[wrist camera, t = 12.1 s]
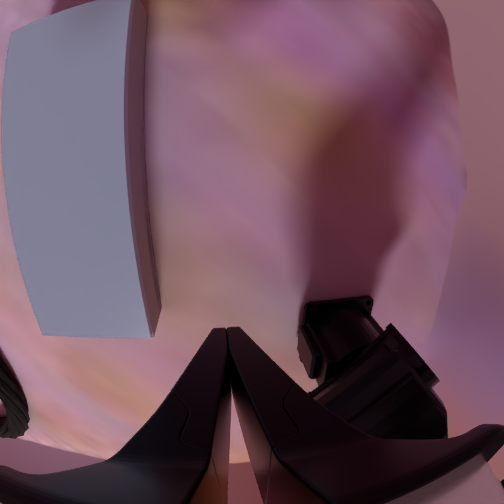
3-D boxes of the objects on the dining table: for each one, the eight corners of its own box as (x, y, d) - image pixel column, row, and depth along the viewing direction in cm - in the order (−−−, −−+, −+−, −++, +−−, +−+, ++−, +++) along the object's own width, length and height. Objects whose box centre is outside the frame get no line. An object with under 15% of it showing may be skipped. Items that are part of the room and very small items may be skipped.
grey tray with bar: (147, 14, 15) (135, -9, 11) (161, 307, 23) (154, 336, 19) (43, 41, 14) (18, 29, 10) (67, 308, 22) (49, 333, 18)
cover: (135, -3, 11) (132, -8, 10) (152, 331, 19) (151, 338, 18) (16, 34, 10) (11, 32, 9) (46, 329, 18) (42, 335, 17)
